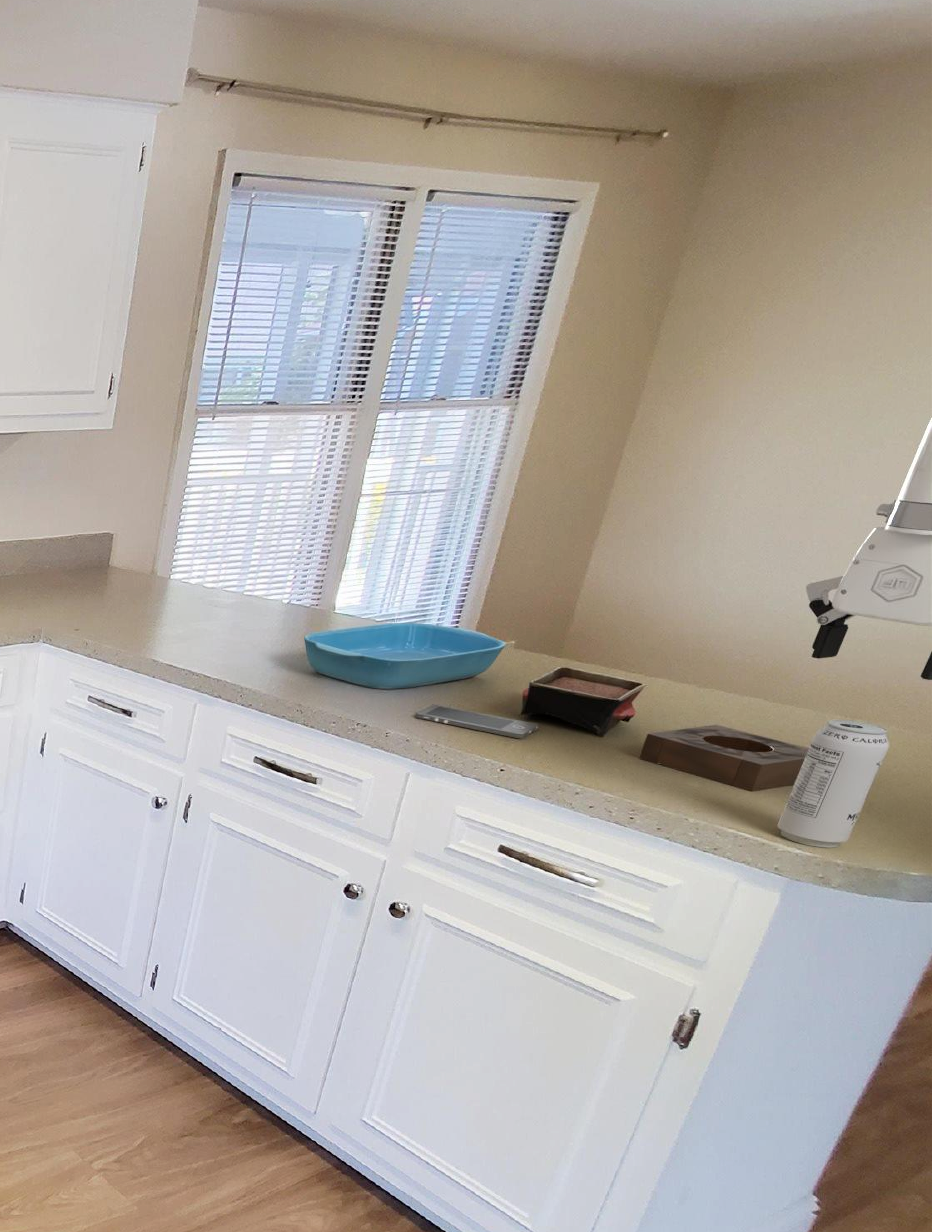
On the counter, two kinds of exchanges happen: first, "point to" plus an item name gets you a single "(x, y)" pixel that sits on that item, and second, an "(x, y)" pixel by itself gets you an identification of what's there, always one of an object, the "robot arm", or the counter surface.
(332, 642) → the casserole dish
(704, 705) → the counter surface
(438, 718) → the smartphone
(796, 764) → the holder
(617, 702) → the dark brown bonsai pot
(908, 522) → the robot arm
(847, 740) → the energy drink can
